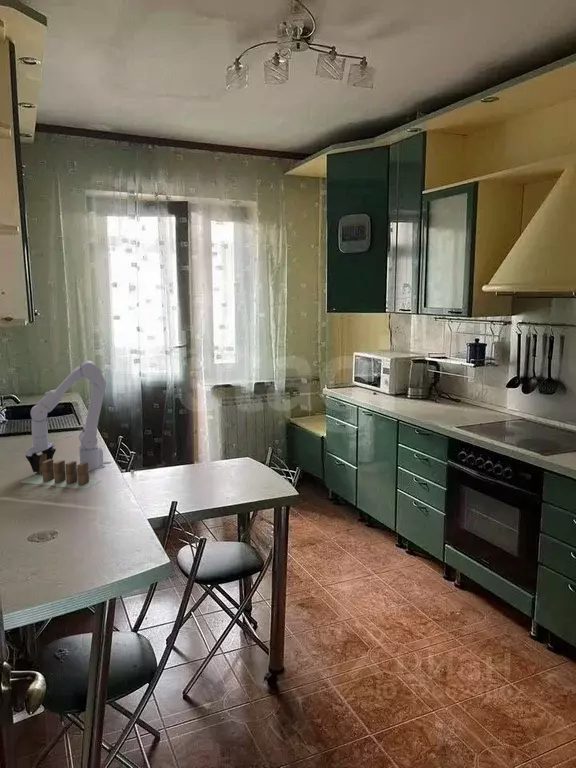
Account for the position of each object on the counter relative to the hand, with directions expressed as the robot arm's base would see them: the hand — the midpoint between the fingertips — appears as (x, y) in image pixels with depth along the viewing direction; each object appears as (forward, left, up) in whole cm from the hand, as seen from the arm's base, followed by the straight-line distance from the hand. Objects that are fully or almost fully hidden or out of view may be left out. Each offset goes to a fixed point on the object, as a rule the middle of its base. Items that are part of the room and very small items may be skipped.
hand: (41, 469), depth 229 cm
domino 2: (+8, +9, -1) cm, 12 cm away
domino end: (+8, +24, -1) cm, 25 cm away
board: (+8, +14, -2) cm, 16 cm away
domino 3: (+8, +14, -1) cm, 16 cm away
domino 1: (0, 0, -2) cm, 2 cm away
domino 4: (+8, +19, -1) cm, 21 cm away
